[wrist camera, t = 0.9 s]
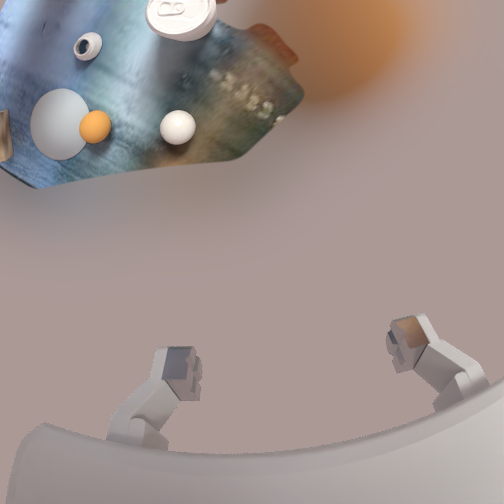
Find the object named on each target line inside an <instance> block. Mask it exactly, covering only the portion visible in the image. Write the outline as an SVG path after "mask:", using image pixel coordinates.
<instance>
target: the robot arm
mask: <svg viewBox="0 0 504 504" xmlns="http://www.w3.org/2000/svg"><path fill="white" fill-rule="evenodd" d="M390 327H391V330H390V331H389V332H388V333H387V336H386V346H387V350H388V352H389V354H391V355H392V356H394V357H393V360H392V362H393V365H394V367H395V370H396V372H397V373H400V372H404V371H408V370H412V369H413V370H414V371H415V372H416V373H417V374H418V375H420V376H421V377H422V378H423V379H424V380H425V381H426V382H428V383H429V384H430V385H431V386H432V387H433V388H434V389H436V390H437V391H438V392H439V393H440V394H439V395H438V397H437V398H436V399H435V400H434V402H433V406H434V409H435V413H433V414H430V415H428V416H425V417H423V418H420V419H418V420H415V421H412V422H409V423H407V424H403V425H401V426H398V427H395V428H392V429H388V430H385V431H382V432H378V433H375V434H371V435H367V436H364V437H359V438H355V439H351V440H347V441H342V442H337V443H332V444H327V445H322V446H316V447H310V448H303V449H296V450H286V451H276V452H264V453H244V454H207V453H188V452H175V451H168V443H169V441H168V440H167V438H165V437H164V436H163V435H161V434H160V433H159V431H160V429H161V428H162V427H163V425H164V424H165V423H166V421H167V420H168V419H169V417H170V416H171V414H172V413H173V412H174V410H175V409H176V408H177V406H178V405H179V403H180V401H199V400H200V391H201V386H200V384H199V383H198V382H199V381H200V380H201V378H202V364H201V360H200V358H199V357H198V356H196V350H195V348H194V346H191V347H189V346H187V347H158V348H157V350H156V353H155V357H154V361H153V365H152V369H151V373H150V378H149V379H146V380H145V381H144V382H143V383H142V384H141V385H140V386H139V387H138V388H137V389H136V390H135V391H134V392H133V393H132V394H131V395H130V396H129V397H128V398H127V399H126V400H125V401H124V402H123V404H121V405H120V406H119V407H118V408H117V410H115V411H114V412H113V414H112V417H111V422H110V425H109V429H108V434H107V438H106V440H102V439H98V438H94V437H90V436H86V435H83V434H79V433H76V432H72V431H70V430H66V429H63V428H60V427H57V426H55V425H52V424H49V423H42V424H40V425H38V426H37V427H36V428H35V429H33V430H32V431H31V432H30V433H28V434H27V435H26V436H25V437H24V438H23V439H22V441H21V443H20V445H19V447H18V449H17V452H16V455H15V459H14V462H13V466H12V470H11V474H10V478H9V484H8V489H7V497H6V504H504V377H503V378H501V379H499V380H498V381H496V382H494V383H493V384H491V385H490V384H489V382H488V380H487V378H486V376H485V374H484V372H483V370H482V368H481V366H480V364H479V363H478V362H476V361H475V360H474V359H472V358H470V357H469V356H467V355H466V354H464V353H463V352H461V351H459V350H458V349H457V348H455V347H453V346H452V345H450V344H449V343H447V342H445V341H444V340H439V338H438V336H437V334H436V332H435V331H434V329H433V327H432V326H431V324H430V322H429V320H428V318H427V317H426V315H425V314H424V313H420V314H416V315H413V316H407V317H403V318H400V319H395V320H393V321H392V322H391V325H390Z"/></svg>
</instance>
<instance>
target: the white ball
mask: <svg viewBox="0 0 504 504" xmlns="http://www.w3.org/2000/svg"><path fill="white" fill-rule="evenodd" d="M160 132H161V135H162V137H163V138H164V140H166V141H167V142H168V143H171V144H175V145H178V144H183V143H185V142H187V141H188V140H189V139H191V137H192V136H193V134H194V132H195V121H194V119H193V117H192V116H191V115H190V114H189V113H187V112H185V111H181V110H177V111H172V112H170V113H168V114H167V115H166V116H165V117H164V118H163V120H162V122H161V125H160Z"/></svg>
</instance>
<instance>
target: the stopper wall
mask: <svg viewBox="0 0 504 504" xmlns="http://www.w3.org/2000/svg"><path fill="white" fill-rule="evenodd" d="M12 155H14V154H13V148H12V141H11V133H10V124H9V112H8V109H7V110H3V111H0V162H3V161H6V160H8V159H9V158H10V157H11V156H12Z"/></svg>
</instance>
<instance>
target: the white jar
mask: <svg viewBox="0 0 504 504" xmlns="http://www.w3.org/2000/svg"><path fill="white" fill-rule="evenodd" d="M83 39H86V40H87V41H88V42H89V43H88V44H87V45H86V49H87V51H86V52H85V53H84V54H80V52H79V46H80V43H81V42H82V40H83ZM101 47H102V39H101V37H100V35H98V34H97V33H92V32H89V33H86V34H84V35H82V36H81V37H80V38H79V39H78V41H77V42H76V43H75V45H74V53H75V55H76V57H77V58H78V59H80V60H84V61H86V60H90V59H92V58H94V57H95V56H96V55H97V54H98V53H99V52H100V50H101Z"/></svg>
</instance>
